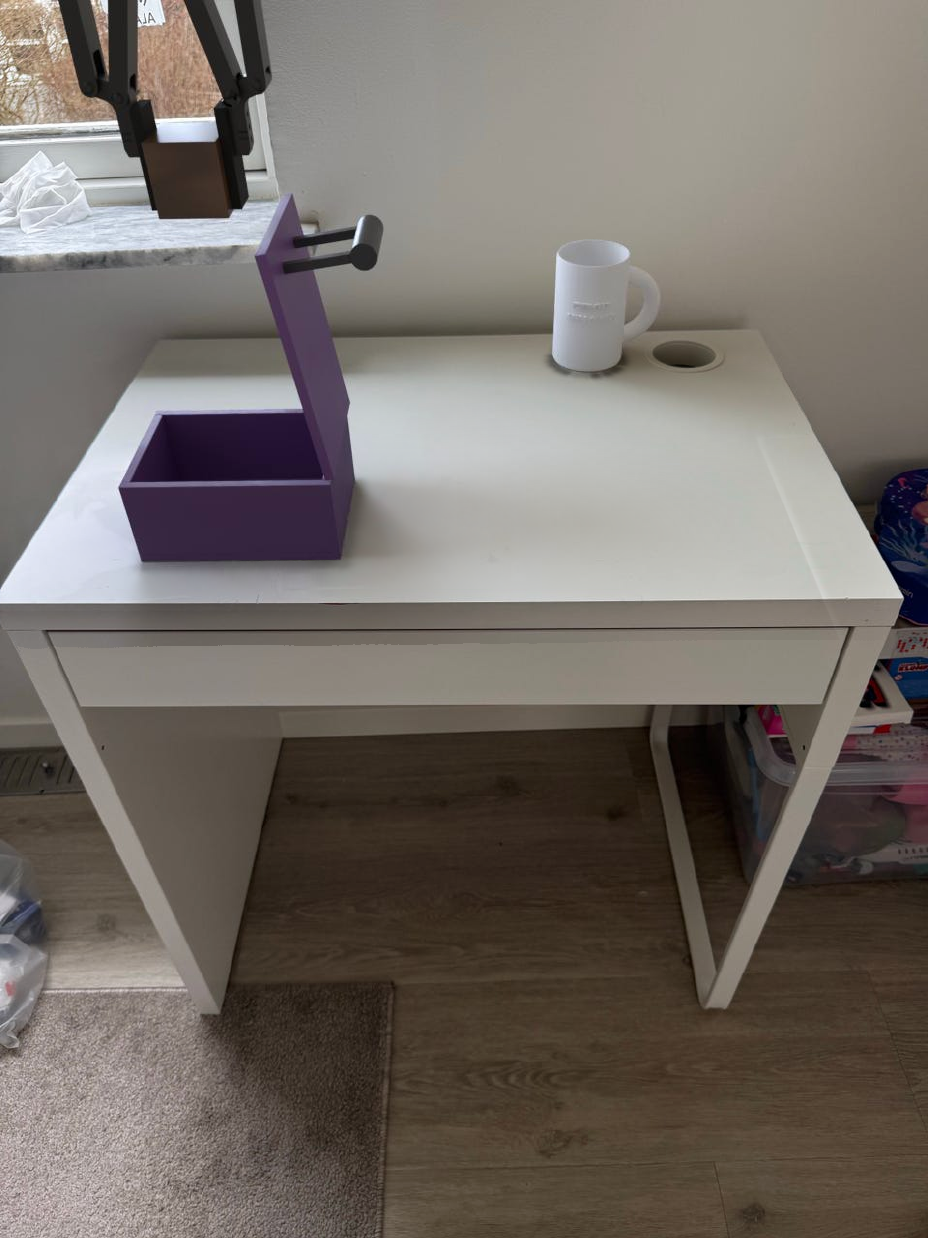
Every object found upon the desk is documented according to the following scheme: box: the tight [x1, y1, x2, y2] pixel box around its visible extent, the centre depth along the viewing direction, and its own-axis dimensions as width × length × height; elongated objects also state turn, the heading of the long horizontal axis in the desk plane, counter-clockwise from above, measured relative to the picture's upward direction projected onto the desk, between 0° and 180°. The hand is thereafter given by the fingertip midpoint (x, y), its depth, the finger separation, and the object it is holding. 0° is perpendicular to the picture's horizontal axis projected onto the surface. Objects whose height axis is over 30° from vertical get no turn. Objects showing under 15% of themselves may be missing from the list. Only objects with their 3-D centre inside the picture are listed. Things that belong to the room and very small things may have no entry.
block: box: [142, 121, 234, 220], centre depth 67 cm, size 5×5×5 cm
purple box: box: [117, 408, 356, 562], centre depth 85 cm, size 18×13×8 cm
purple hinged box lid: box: [254, 193, 384, 481], centre depth 75 cm, size 19×13×8 cm
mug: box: [551, 239, 661, 373], centre depth 106 cm, size 8×12×12 cm
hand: (201, 202), depth 68 cm, fingers closed on block, 5 cm apart
